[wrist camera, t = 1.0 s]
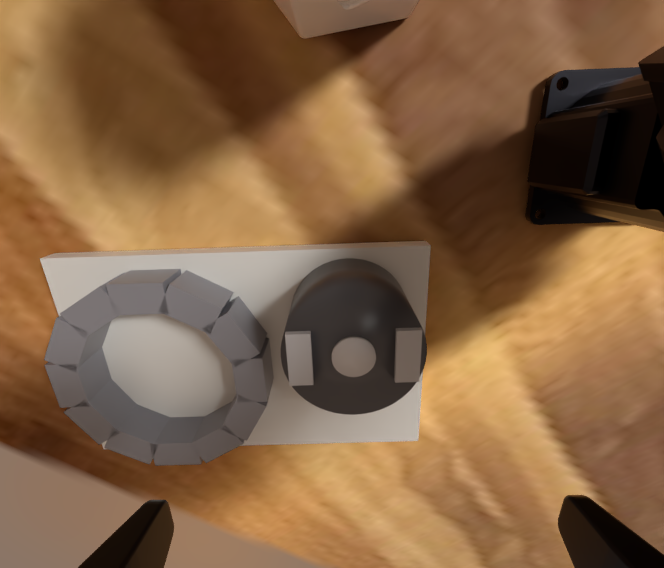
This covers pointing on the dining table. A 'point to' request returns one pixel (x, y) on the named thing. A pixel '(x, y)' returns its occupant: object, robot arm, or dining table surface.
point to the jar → (341, 14)
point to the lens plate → (204, 348)
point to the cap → (352, 339)
